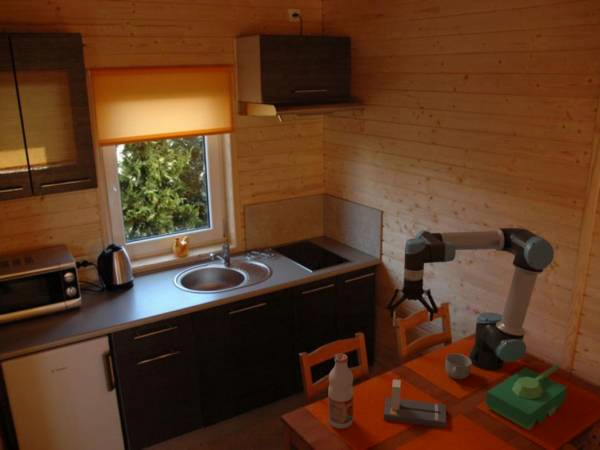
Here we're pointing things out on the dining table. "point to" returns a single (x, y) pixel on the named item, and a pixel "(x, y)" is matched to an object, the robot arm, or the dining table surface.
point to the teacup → (457, 365)
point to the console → (416, 413)
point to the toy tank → (527, 397)
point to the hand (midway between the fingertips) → (411, 326)
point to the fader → (396, 394)
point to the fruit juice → (340, 394)
